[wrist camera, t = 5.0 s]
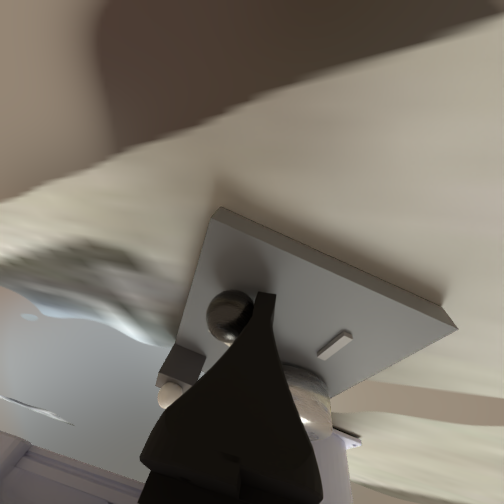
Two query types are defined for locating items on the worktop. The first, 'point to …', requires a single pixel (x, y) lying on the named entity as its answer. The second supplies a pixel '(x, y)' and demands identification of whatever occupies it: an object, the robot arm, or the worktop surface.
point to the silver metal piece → (299, 380)
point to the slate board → (308, 305)
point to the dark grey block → (178, 374)
